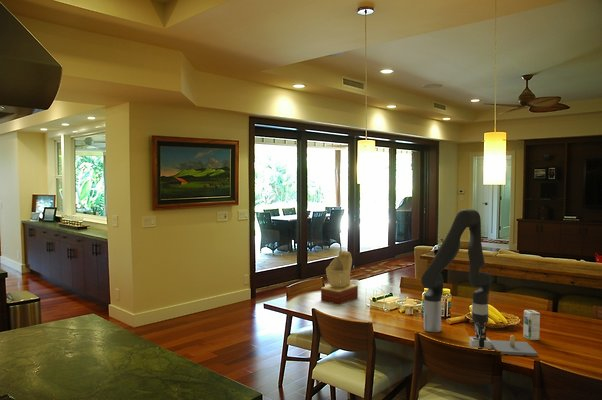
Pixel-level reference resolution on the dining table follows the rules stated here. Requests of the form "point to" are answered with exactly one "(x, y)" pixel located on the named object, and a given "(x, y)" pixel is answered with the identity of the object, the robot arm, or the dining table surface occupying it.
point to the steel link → (475, 342)
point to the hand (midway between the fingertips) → (480, 344)
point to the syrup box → (531, 324)
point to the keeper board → (513, 347)
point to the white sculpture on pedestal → (340, 281)
